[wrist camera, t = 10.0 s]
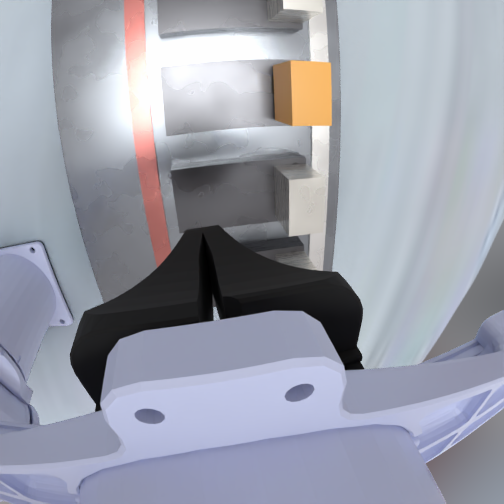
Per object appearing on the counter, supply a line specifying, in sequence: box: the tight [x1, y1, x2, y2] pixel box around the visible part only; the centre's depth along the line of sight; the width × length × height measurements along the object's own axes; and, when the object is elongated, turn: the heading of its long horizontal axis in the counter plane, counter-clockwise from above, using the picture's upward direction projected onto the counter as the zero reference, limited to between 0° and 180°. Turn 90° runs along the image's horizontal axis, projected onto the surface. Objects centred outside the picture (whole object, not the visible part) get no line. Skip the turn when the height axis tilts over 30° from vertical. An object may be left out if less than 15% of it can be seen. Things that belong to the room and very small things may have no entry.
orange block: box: [273, 60, 332, 126], centre depth 14 cm, size 2×3×3 cm, turn 2°
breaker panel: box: [51, 0, 341, 307], centre depth 16 cm, size 18×25×6 cm
